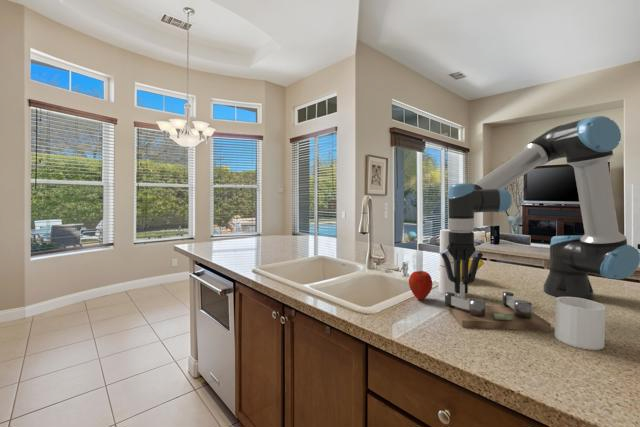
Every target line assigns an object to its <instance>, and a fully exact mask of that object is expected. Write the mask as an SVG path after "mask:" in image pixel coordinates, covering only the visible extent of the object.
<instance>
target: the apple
mask: <svg viewBox="0 0 640 427" xmlns="http://www.w3.org/2000/svg"><path fill="white" fill-rule="evenodd" d="M408 286H409V288H410V291H411V292H412V295H414V297H415V298H416V299H417V300H418V301H423V300H425V299H426V298H427V297H428V296H429V294H430V293H431V291H432V289H433V280H432V277H431V275H430V274H429V273H428V272H427V271H425V270H417V271H413V272H412V273H411V274H410V275H409V279H408Z"/></svg>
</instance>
